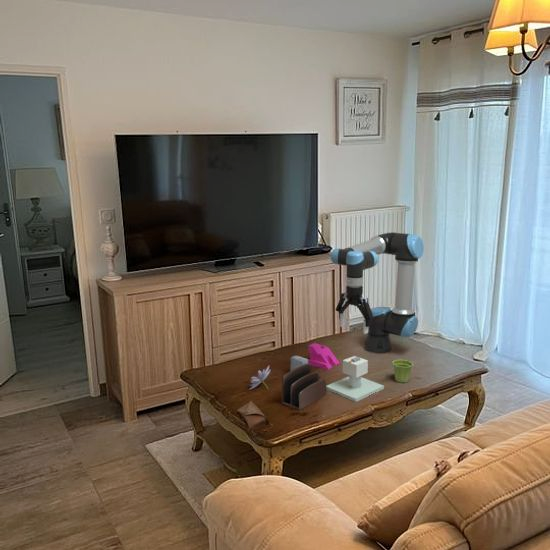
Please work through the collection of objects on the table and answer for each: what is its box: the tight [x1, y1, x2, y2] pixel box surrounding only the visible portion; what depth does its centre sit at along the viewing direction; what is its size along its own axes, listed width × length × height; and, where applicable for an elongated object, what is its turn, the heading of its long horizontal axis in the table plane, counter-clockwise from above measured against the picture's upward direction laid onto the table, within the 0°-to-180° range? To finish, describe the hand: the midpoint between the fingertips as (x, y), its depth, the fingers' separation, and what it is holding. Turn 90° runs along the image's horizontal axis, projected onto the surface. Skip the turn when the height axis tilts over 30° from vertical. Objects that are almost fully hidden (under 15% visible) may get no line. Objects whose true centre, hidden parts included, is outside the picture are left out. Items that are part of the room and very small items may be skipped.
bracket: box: [308, 342, 340, 371], centre depth 288 cm, size 12×10×10 cm
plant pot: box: [392, 359, 414, 383], centre depth 268 cm, size 9×9×9 cm
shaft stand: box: [326, 356, 385, 403], centre depth 258 cm, size 20×18×15 cm
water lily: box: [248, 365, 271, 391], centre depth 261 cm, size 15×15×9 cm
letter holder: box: [281, 363, 328, 411], centre depth 248 cm, size 10×20×14 cm, turn 139°
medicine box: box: [290, 355, 309, 371], centre depth 275 cm, size 8×4×9 cm, turn 47°
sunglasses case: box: [235, 400, 270, 429], centre depth 233 cm, size 18×7×7 cm
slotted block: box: [342, 355, 369, 378], centre depth 257 cm, size 8×8×6 cm
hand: (353, 329), depth 262 cm, fingers open, 13 cm apart
